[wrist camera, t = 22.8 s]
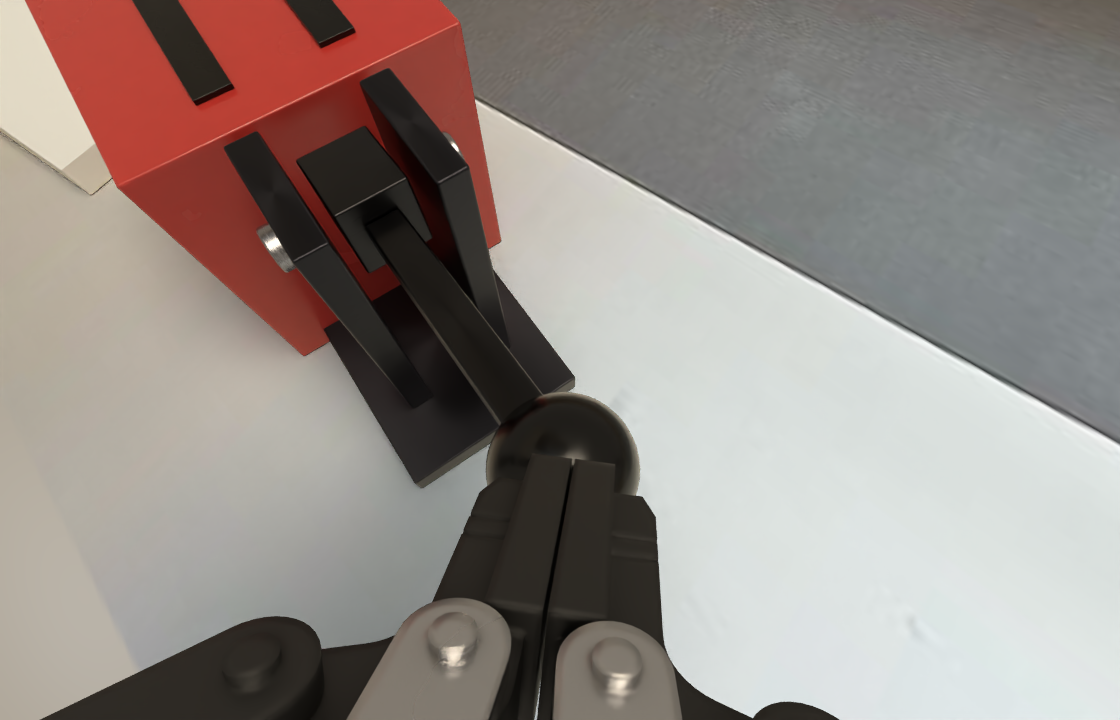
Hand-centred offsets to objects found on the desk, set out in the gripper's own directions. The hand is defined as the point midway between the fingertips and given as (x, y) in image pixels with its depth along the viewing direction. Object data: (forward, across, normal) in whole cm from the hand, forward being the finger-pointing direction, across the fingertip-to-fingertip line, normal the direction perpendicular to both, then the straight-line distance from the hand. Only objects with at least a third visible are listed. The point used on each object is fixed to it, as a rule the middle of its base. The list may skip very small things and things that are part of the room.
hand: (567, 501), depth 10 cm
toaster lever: (+6, +3, -1) cm, 7 cm away
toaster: (+20, +13, -1) cm, 24 cm away
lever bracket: (+16, +7, +4) cm, 18 cm away
